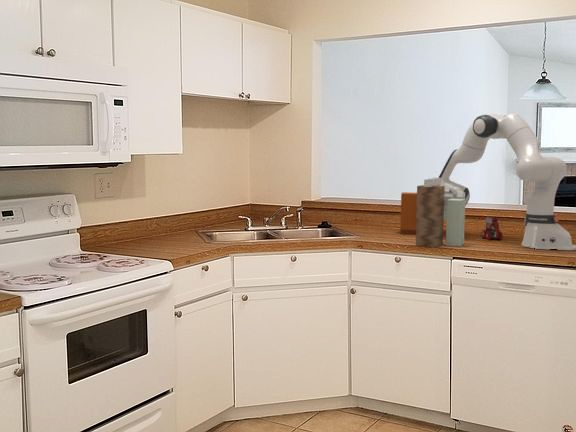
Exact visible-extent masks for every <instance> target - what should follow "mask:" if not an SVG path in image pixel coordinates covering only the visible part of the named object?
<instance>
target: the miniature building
mask: <svg viewBox="0 0 576 432" xmlns="http://www.w3.org/2000/svg"><path fill="white" fill-rule="evenodd" d="M400 198H401V199H400V230H399V234H401V235H415V236H416V212H417V192H401V194H400Z"/></svg>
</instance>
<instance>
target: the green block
mask: <svg viewBox="0 0 576 432" xmlns="http://www.w3.org/2000/svg"><path fill="white" fill-rule="evenodd" d="M465 220H466V206H465V199H449V200H447V220H445V223H446V227H445V229H446V230H445V246H447V247H448V246H449V247H461V246H463V245H464V244H465V228H466V227H465V222H466V221H465Z"/></svg>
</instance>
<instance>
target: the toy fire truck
mask: <svg viewBox="0 0 576 432" xmlns="http://www.w3.org/2000/svg"><path fill="white" fill-rule="evenodd" d="M498 221H499V219H498V218H497V217H493V216H489V215H488V216H486V218H485V222H486V224H485V225H486V226H485V229H483V230H481V235H480V236H481V238H482V239H486V240H487V241H490V240H492V239H496V240H497V241H501V240H502V239H503V232H502V231H500V224H499V222H498Z"/></svg>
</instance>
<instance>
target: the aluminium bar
mask: <svg viewBox="0 0 576 432" xmlns="http://www.w3.org/2000/svg"><path fill="white" fill-rule="evenodd" d="M423 185H424V187H433V186H437V185H441V178H438V177H432V178H427V179H424V180H423Z"/></svg>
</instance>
